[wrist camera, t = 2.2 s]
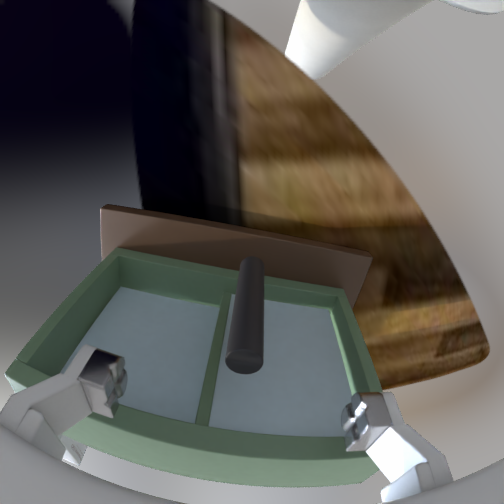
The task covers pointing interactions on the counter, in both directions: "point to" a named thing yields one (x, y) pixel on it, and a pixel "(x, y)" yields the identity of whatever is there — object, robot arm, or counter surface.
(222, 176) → the counter surface
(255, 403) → the sliding pane
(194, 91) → the counter surface
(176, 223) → the window frame
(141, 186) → the counter surface
